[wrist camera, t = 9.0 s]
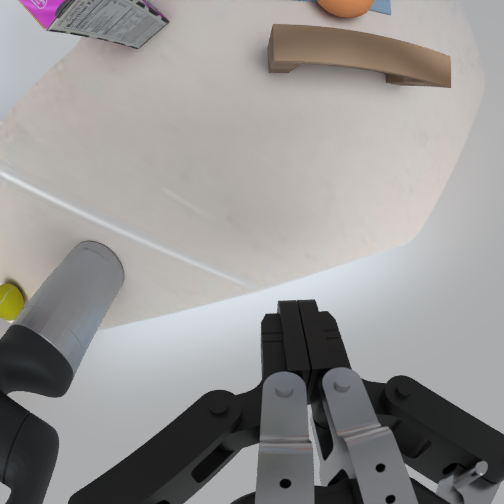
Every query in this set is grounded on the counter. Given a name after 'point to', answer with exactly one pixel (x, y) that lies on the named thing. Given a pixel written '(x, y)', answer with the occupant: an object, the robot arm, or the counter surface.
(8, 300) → the tennis ball
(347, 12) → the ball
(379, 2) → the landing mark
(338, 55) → the bridge
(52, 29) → the candy bar box
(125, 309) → the counter surface
